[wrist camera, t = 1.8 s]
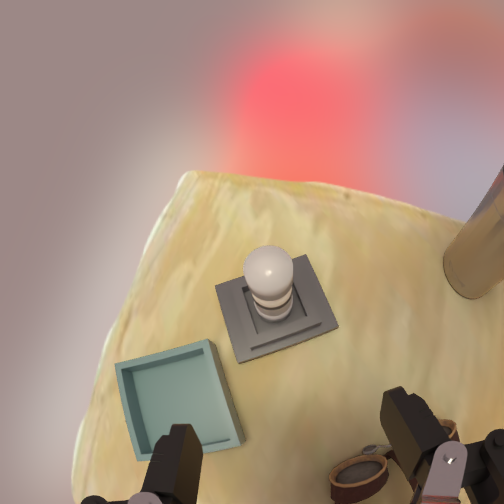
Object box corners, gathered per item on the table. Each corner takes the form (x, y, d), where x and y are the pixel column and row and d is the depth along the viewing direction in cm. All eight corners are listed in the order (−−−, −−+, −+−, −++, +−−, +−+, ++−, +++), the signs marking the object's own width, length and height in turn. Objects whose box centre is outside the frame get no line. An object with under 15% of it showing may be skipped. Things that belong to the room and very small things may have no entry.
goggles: (438, 406, 24) (489, 421, 14) (445, 480, 20) (484, 506, 10) (318, 460, 23) (337, 505, 14) (338, 530, 19) (355, 576, 10)
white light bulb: (285, 284, 34) (282, 239, 25) (297, 315, 31) (300, 279, 23) (251, 296, 33) (237, 254, 25) (262, 328, 31) (251, 297, 23)
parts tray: (215, 345, 32) (207, 338, 29) (246, 440, 26) (240, 445, 23) (129, 368, 31) (114, 363, 28) (151, 457, 25) (137, 461, 22)
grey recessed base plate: (305, 257, 36) (306, 248, 34) (337, 328, 31) (341, 322, 29) (216, 288, 35) (211, 280, 33) (239, 363, 30) (235, 360, 28)
